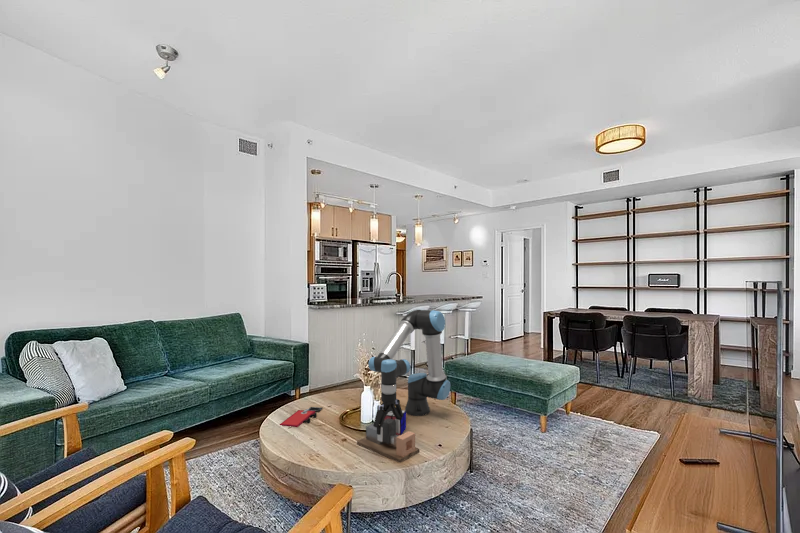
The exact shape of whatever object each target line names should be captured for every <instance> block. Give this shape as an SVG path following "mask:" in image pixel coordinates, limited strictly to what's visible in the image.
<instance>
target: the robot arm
mask: <svg viewBox="0 0 800 533" xmlns="http://www.w3.org/2000/svg"><path fill="white" fill-rule="evenodd" d="M445 325H446V319H445V316H444V313H443V312H441V311H439V310H433V309H431V310H430V309H429V310H428V309H415V310H412V311H410V312H408V313H407V314H406V315H404V316H403V317H402V318H401V320H400V321H399V322H398V327H397V328H396V330H395V331H394V332H393V334H392V335H391V336H390V338H389V339H388V341H387V342H386V343H385V345H384V347H383V348H382V349H381V351H380V352H379V354H378V355H377V356H371V357H370V358H369V360H368V364H367V366H368V369H369V371H372V372H376V373H380V374H381V375H380V376H381V379H380V380H381V382H380V383H381V384H380V388H381V389H380V392H381V393H380V394H381V397H380V399H381V405H380V404H379V405H377V407H376V409H377V410H376V413H375V418H374V423H373V424H374V425H373V426H374V427H376V428H377V440H378V441H381V442H382V441H383V428H382V424H383V422H384V419H385V417H386V415H387V414H388V412H390V411H392V412H393V414H394V416H395V417H396V418H397V419H395V421H396V433H400V420H402V418H401V417H403V413H402V410H403V409H402V407H401V402H400V399H398V398H397V378H399V377H402V376H405V375H406V374H408V373H409V372H410V370H411V364H410V361H409V360H407V359H405V358H402V359H393V358H394V357H395V356H396V354H397V353H398V351H399V350H400V349H401V347H402V345H403V344H404V342H405V341H406V339H407V338H408V337H409V335H410V334H413V332H414V331H415V330H421V334H422V335H423V336H424V340H425V349H426V361H427V370H428V375H427V373H426V372H416V373H413V374H410V375H408V378H407V401H406V404H405V407H404V411H406V415H409V416H413V417H414V416H415V417H421V416H423V417H424V416H427V415H428V414H430V411H431V410H430V406H429V402H428V398H429V399H434V400H440V401H444V400H446V399H447V398H448V396H449V395H450V391H451V382H450V380H448V379H447V376H446V374H445V373H444V370H443V359H442V358H443V357H442V348H441V336H440V335H441V334H442V333H443V331H444V329H445V327H446V326H445ZM393 385H394V386H393Z"/></svg>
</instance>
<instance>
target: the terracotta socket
mask: <svg viewBox="0 0 800 533" xmlns="http://www.w3.org/2000/svg"><path fill="white" fill-rule="evenodd" d="M415 447H416V433H415V432H412V431H409V430H408V431H406V432H405V433H404V432H403V433H402V434H401V435H398V437H396V455H399V456H401V457H404V456H406V455H408V454H410V453H411V452H413V451H415Z"/></svg>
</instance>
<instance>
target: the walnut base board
mask: <svg viewBox="0 0 800 533" xmlns="http://www.w3.org/2000/svg"><path fill="white" fill-rule="evenodd" d="M356 445H358V446H361V447H363V448H364V449H367V450H370V451H373V452H374V453H377V454H379V455H381V456H383V457H385V458H388V459H390V460H393V461H395V462H397V463H399V464H400V463H402V462H405V461H406V460H408V459H410V458H411V457H413V456H415V455H416V454H419V453H420V448H418V447H416V446H415V451H413V452H411V453H410V454H408V455H406V456H404V457H401V456H399V455H396V444H395V445H394V444H386V443H384V444H381V445H379V444H376V443H374V442H371V441H369V440H367V439H366V436H365V437H363V438H361V439H359V440H356Z"/></svg>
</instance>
